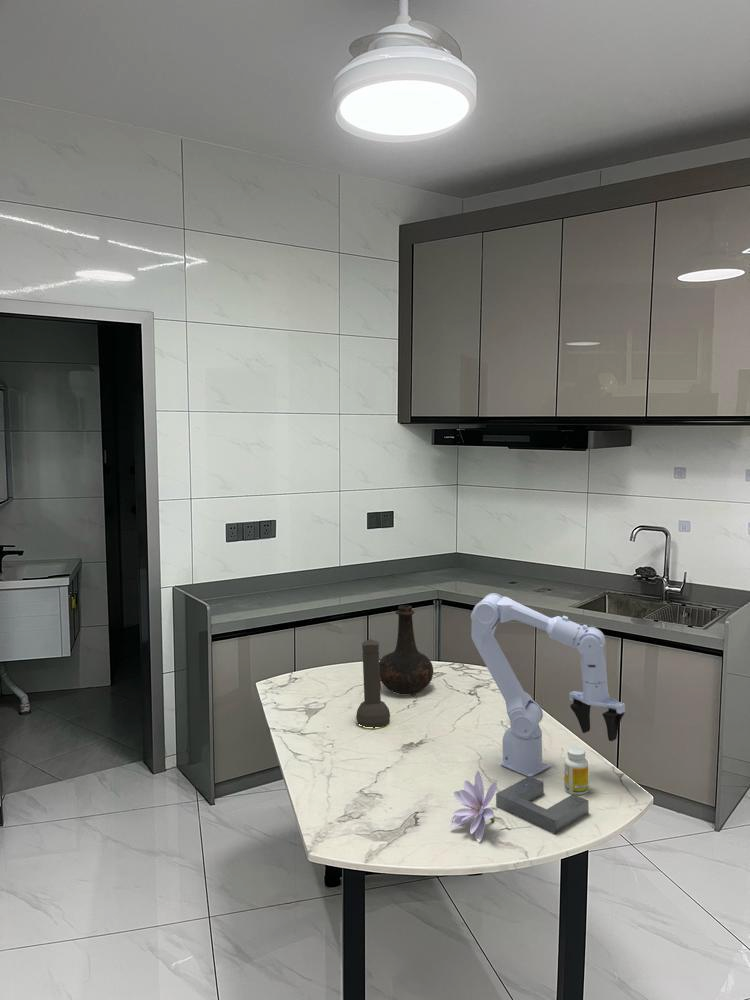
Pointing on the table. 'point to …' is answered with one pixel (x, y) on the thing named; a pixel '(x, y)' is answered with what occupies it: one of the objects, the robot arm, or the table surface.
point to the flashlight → (372, 689)
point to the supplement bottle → (576, 771)
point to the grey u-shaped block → (549, 819)
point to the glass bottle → (405, 660)
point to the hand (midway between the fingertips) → (599, 735)
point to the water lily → (474, 806)
